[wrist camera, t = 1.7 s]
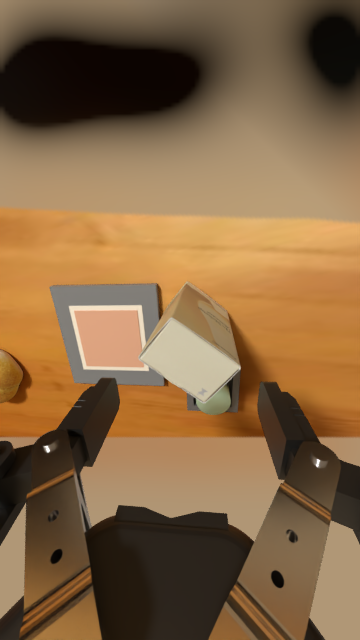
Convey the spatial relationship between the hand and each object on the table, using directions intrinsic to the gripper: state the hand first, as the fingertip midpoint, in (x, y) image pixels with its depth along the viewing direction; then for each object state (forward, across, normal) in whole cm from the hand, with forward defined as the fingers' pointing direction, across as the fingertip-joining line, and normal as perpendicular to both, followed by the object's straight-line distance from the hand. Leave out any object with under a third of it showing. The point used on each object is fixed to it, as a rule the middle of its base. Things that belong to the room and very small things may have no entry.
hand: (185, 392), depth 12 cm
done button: (+12, -2, +10) cm, 16 cm away
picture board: (+15, +11, +4) cm, 19 cm away
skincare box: (+15, 0, 0) cm, 16 cm away
